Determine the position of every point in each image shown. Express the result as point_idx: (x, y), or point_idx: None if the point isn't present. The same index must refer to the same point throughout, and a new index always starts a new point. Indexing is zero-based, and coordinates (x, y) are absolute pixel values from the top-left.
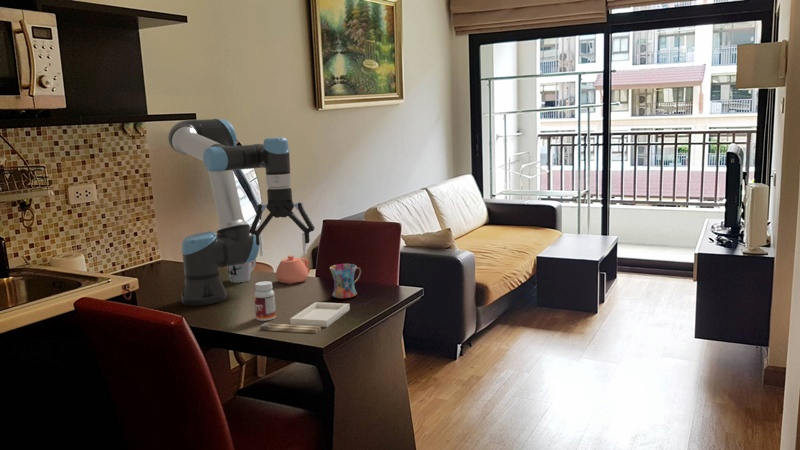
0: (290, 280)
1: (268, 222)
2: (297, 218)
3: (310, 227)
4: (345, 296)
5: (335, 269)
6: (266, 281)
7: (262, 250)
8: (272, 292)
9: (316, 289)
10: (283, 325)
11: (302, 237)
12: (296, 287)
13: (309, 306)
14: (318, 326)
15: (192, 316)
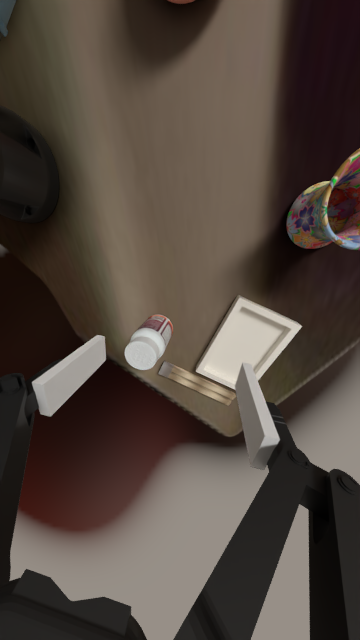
0: (184, 2)
1: (5, 470)
2: (254, 610)
3: (324, 530)
4: (312, 248)
5: (335, 238)
6: (143, 344)
7: (95, 367)
8: (161, 353)
9: (258, 110)
10: (187, 378)
11: (248, 448)
12: (203, 64)
13: (226, 321)
14: (232, 395)
15: (51, 286)
